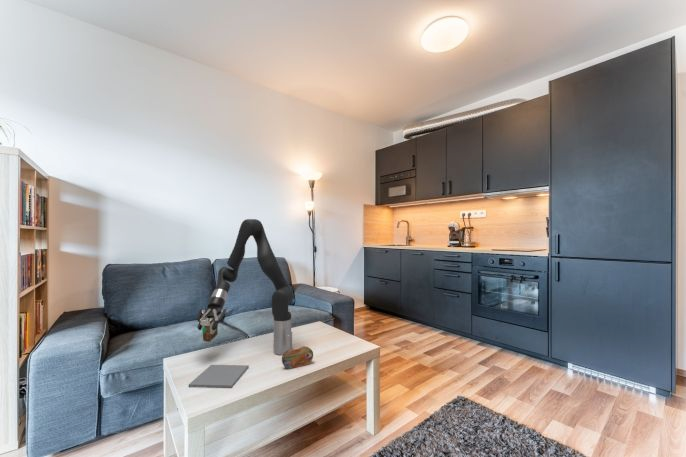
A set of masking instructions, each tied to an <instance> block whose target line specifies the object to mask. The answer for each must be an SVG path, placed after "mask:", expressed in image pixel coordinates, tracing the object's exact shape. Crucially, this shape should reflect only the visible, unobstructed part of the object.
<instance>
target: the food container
mask: <svg viewBox="0 0 686 457" xmlns="http://www.w3.org/2000/svg"><path fill="white" fill-rule="evenodd" d="M214 321H215V318H208V317H207V316H206V317H204V318H202V320H201V322H200V324H201V325H202V329H201V332H202V341H204V342H206V343H207V342H212V341H213V340H214V339H215V338H216V337H217V336H218V333H219V332H218V328H219V325H218V326H217V328H216V329H215V330H213V329H212V326H213V324H214Z"/></svg>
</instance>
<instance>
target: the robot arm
mask: <svg viewBox="0 0 686 457" xmlns="http://www.w3.org/2000/svg"><path fill="white" fill-rule="evenodd" d="M237 233H238V234H237V237H236V239H235V243H234V247H233V248H232V251H231V253H230V255H229V257H228V259H227V262H226V264H227V265H228V267H226V266H222V267H221V268H220V269H219V270H218V272H217V283H216V284H215V287H214V290H213V292H212V294H211V296H210V298H209V302H208V303H207V308H205V309H203V308H200V309H199V311H198V314H197V316H196V321H197V322H198V325H197V330H198V331H202V325H201V324H200V322H201V320H202V318H204V317H206V316H207V317H208V318H215V321H214V324H213V326H212V329H213V330H215V329H216V328H217V326H218V327H219V324H220V323H223V322H224V320H225V318H226V316H227V314H228V311H227V310H226V309H223V308H224V306H225V303H226V301H227V297H228V294H229V291H230V288H231V285H230V283H234V282H236V280H237V279H238V273H239V268H240V266H241V263H242V262H243V260H244V258H245V255H246V254H245V253H246V245H247V242H248V240H249V238H250V237H251V236H252V237H253V240H254V242H255V243H256V258H257V262H258V264H259V267H260V269H261V270H262V272H263V273H264V276H266V277H267V278H268V279H269V280H270V281H271V282H272V284H273V286H274V288H275V291H274V292H273V293H272V296H271V311H272V312H271V314H272V317H273V354H275V355H279V356H280V355H281V356H283V354H284V352H285V351H287V350H289V349H293V331H292V313H291V312H290V311H289V305H290V304H291V303H292V302H293V301H294V293H293V290H292V289H291V287H290V285H289V284H288V283H289V282H288V281H287V280H286V278H285V276H284V274H283V271H282V269H281V266H280V265H279V262H278V260H277V258H276V255H275V253H274V252H273V250H272V248H271V245H270V243H269V241H268V238H267V235H266V232H265V228H264V225H263V224H262V222H261V221H260V220H258V219H253V218H247V219H244V220H243V221H242V222H241V224H240V227H239V230H238V232H237ZM229 267H230V268H229Z"/></svg>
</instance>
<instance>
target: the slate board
mask: <svg viewBox="0 0 686 457" xmlns="http://www.w3.org/2000/svg"><path fill="white" fill-rule="evenodd" d="M248 369H249V365H247V364H243V365H241V364H237V365H236V364H210V365H209V366H208V367H207V368H206V369H205V370H203V372H201V373H200V374H199V375H197V376H196V378H194V379H193V380H192V381H191V382H190V383H188V388H210V389H211V388H213V389H214V388H215V389H217V388H218V389H220V388H221V389H232V388H233V387H234V386H235V385H236V384H237V382H238V381H239V380H240V379H241V377H242V376H243V375H244V374H245V373H246V372H247V370H248Z"/></svg>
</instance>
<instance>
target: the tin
mask: <svg viewBox="0 0 686 457" xmlns="http://www.w3.org/2000/svg"><path fill="white" fill-rule="evenodd" d="M281 356H282V357H281V364H282V365H283V367H284V368H286V369H287V370H291V369H296V368H300V367H304V366H308V365H309V364H310V363H311V362H312V361H313V358H314V352H313V350H312V349H311V348H310V347H309V346H305V345H304V346H303V345H302V346H299V347H294V348H292V349H289V350H287V351H285V352H284V354H283V355H281Z"/></svg>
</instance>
